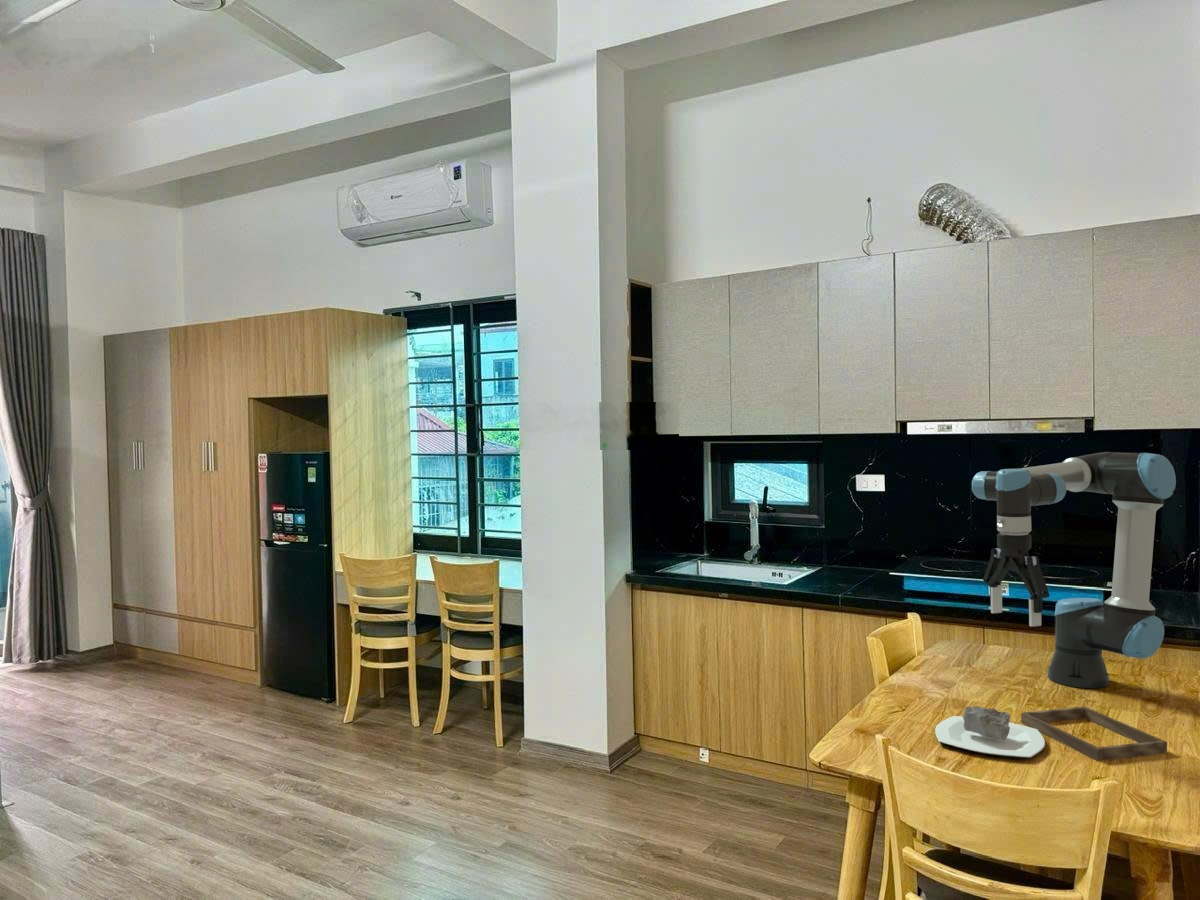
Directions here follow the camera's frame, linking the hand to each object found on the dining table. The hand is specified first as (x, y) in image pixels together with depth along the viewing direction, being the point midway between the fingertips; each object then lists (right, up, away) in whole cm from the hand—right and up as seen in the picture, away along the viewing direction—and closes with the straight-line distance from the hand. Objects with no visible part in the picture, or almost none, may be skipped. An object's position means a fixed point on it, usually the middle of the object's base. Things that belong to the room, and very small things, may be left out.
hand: (1015, 619), depth 211 cm
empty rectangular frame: (+13, -26, -10) cm, 30 cm away
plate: (-11, -27, -11) cm, 31 cm away
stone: (-12, -25, -11) cm, 29 cm away
